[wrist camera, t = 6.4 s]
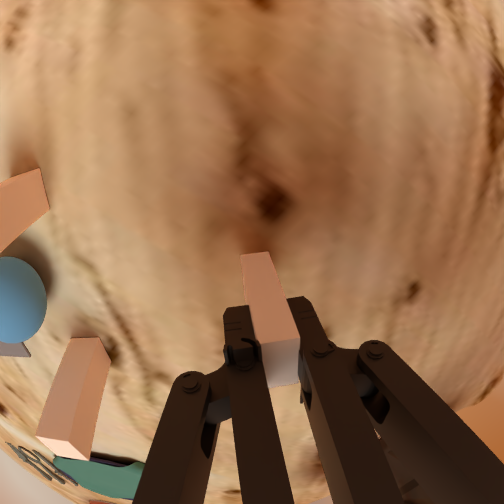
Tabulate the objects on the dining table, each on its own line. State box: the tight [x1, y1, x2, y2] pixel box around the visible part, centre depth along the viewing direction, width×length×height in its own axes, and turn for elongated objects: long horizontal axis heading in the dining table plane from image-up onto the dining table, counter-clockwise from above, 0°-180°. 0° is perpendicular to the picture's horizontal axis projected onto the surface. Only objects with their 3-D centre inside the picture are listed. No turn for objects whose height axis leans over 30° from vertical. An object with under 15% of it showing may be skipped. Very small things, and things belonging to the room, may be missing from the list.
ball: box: [0, 256, 47, 343], centre depth 14 cm, size 6×6×6 cm
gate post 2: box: [35, 337, 111, 461], centre depth 16 cm, size 3×3×9 cm
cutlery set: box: [5, 442, 145, 500], centre depth 32 cm, size 20×30×2 cm, turn 94°
